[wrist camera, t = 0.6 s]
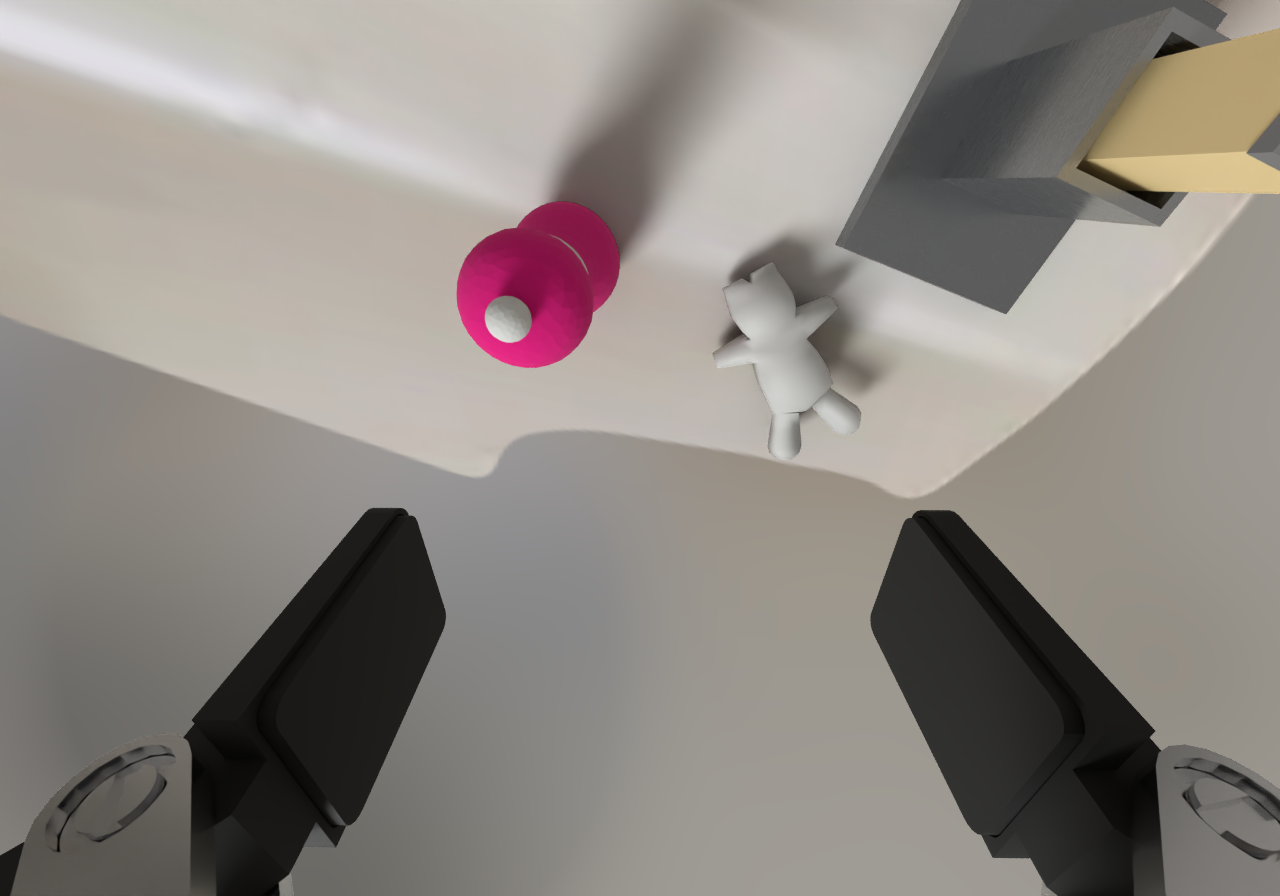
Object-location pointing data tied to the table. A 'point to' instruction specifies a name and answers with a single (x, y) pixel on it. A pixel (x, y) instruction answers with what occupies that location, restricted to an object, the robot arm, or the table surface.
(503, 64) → the table surface
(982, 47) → the sleeve
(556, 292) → the pepper mill
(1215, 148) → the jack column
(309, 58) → the table surface
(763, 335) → the grey toy animal
